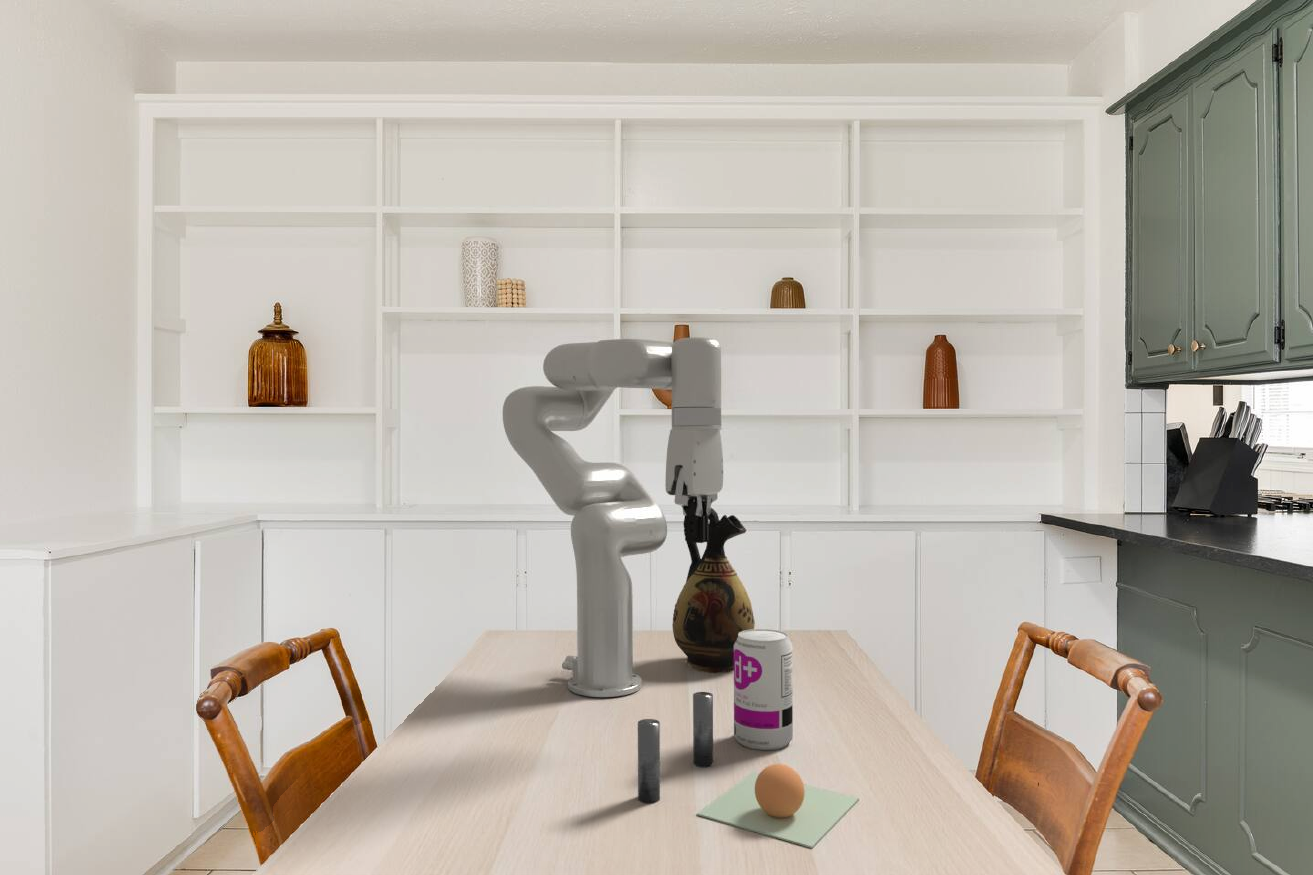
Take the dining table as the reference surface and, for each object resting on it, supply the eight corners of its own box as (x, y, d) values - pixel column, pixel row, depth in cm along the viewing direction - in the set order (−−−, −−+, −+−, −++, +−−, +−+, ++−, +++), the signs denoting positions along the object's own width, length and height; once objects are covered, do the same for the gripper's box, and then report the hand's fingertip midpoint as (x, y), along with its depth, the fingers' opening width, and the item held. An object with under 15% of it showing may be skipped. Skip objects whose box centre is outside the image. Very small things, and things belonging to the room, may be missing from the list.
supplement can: (755, 755, 112) (755, 644, 112) (723, 736, 119) (722, 631, 119) (804, 745, 116) (804, 637, 116) (770, 727, 123) (769, 625, 123)
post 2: (689, 764, 109) (689, 695, 109) (699, 757, 111) (699, 690, 111) (706, 768, 108) (706, 699, 108) (716, 762, 110) (716, 693, 110)
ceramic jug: (766, 660, 160) (766, 504, 160) (735, 681, 146) (735, 510, 146) (687, 650, 168) (686, 501, 168) (650, 669, 154) (650, 507, 154)
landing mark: (696, 814, 95) (696, 813, 95) (753, 773, 106) (753, 771, 106) (812, 848, 87) (812, 846, 87) (859, 799, 99) (859, 797, 99)
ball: (785, 833, 91) (741, 810, 94) (808, 817, 95) (765, 796, 99) (794, 783, 90) (750, 763, 94) (817, 770, 95) (774, 750, 98)
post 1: (633, 799, 99) (633, 723, 99) (646, 791, 101) (645, 717, 101) (651, 804, 97) (651, 727, 97) (664, 796, 99) (663, 721, 99)
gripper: (700, 421, 134) (700, 535, 134) (648, 420, 122) (648, 545, 122) (741, 420, 130) (742, 538, 130) (692, 419, 118) (692, 549, 118)
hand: (696, 541), depth 126 cm, fingers closed
